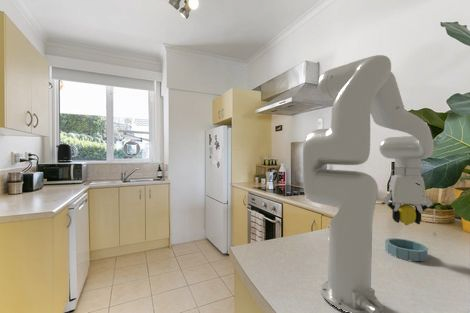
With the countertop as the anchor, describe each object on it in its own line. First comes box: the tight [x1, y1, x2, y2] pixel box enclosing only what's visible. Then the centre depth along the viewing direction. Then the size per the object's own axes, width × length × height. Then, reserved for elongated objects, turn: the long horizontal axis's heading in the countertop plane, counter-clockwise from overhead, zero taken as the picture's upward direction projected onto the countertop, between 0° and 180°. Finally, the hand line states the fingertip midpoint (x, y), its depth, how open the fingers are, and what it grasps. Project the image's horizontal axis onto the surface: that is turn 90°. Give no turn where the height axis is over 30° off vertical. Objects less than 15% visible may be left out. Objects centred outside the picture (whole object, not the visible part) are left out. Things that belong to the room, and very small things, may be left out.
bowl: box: [384, 237, 429, 262], centre depth 81 cm, size 12×12×4 cm
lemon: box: [398, 204, 416, 226], centre depth 81 cm, size 6×6×8 cm
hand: (406, 221), depth 81 cm, fingers closed on lemon, 5 cm apart
